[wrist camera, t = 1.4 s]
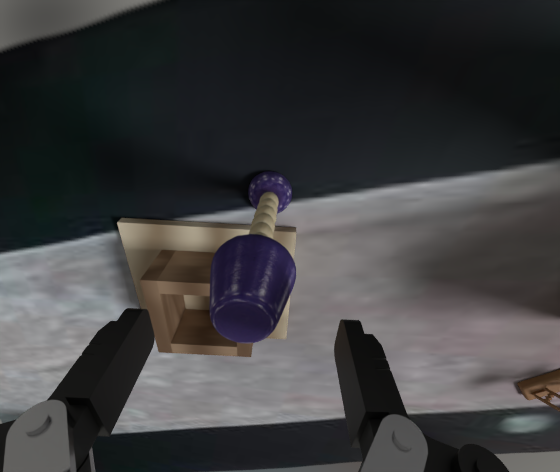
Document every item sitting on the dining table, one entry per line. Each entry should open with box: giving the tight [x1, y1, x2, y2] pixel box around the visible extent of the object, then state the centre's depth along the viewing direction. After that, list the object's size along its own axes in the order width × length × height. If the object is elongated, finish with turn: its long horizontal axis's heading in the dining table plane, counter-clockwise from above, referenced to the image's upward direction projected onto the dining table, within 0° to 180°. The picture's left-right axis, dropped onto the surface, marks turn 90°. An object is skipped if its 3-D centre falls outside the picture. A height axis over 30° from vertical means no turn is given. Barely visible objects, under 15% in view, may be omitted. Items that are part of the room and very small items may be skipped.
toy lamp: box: [209, 171, 296, 344], centre depth 19 cm, size 5×5×17 cm
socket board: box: [117, 218, 296, 357], centre depth 29 cm, size 18×16×6 cm
